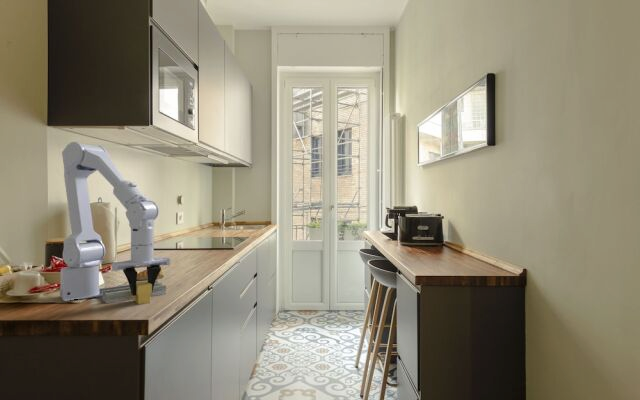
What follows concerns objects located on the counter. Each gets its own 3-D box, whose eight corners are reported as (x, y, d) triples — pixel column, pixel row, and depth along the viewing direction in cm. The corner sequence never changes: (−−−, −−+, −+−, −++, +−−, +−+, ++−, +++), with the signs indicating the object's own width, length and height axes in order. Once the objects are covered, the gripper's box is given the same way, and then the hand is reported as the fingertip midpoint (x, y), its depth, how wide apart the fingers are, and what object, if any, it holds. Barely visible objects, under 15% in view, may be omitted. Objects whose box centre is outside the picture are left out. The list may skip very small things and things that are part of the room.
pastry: (139, 282, 128) (139, 271, 128) (130, 280, 133) (130, 269, 133) (165, 278, 136) (165, 267, 136) (155, 276, 140) (155, 265, 140)
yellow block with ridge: (137, 304, 102) (137, 286, 102) (132, 300, 106) (132, 282, 106) (151, 302, 104) (151, 284, 104) (145, 298, 108) (145, 281, 108)
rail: (105, 303, 103) (105, 294, 103) (99, 297, 109) (99, 288, 109) (165, 293, 113) (166, 285, 113) (156, 288, 120) (156, 280, 120)
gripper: (117, 248, 97) (116, 301, 97) (174, 244, 106) (173, 292, 107) (110, 245, 102) (110, 295, 102) (165, 241, 112) (164, 287, 112)
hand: (142, 293), depth 105 cm, fingers closed on yellow block with ridge, 4 cm apart
